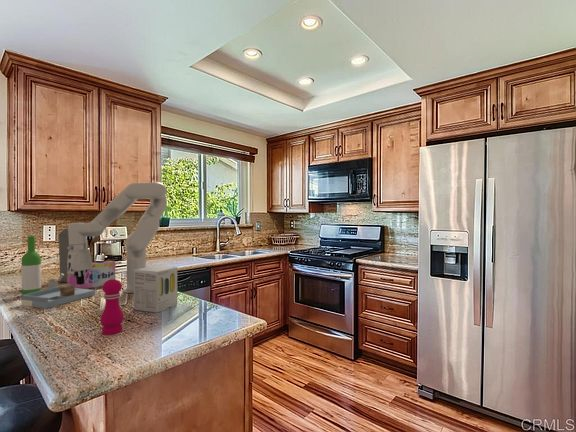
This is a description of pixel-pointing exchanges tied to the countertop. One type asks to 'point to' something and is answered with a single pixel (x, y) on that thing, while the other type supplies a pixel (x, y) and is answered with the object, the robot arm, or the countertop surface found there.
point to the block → (67, 290)
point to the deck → (53, 297)
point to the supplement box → (155, 288)
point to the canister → (63, 253)
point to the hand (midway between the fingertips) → (80, 283)
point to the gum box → (94, 275)
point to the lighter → (54, 282)
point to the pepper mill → (112, 307)
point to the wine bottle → (31, 269)
